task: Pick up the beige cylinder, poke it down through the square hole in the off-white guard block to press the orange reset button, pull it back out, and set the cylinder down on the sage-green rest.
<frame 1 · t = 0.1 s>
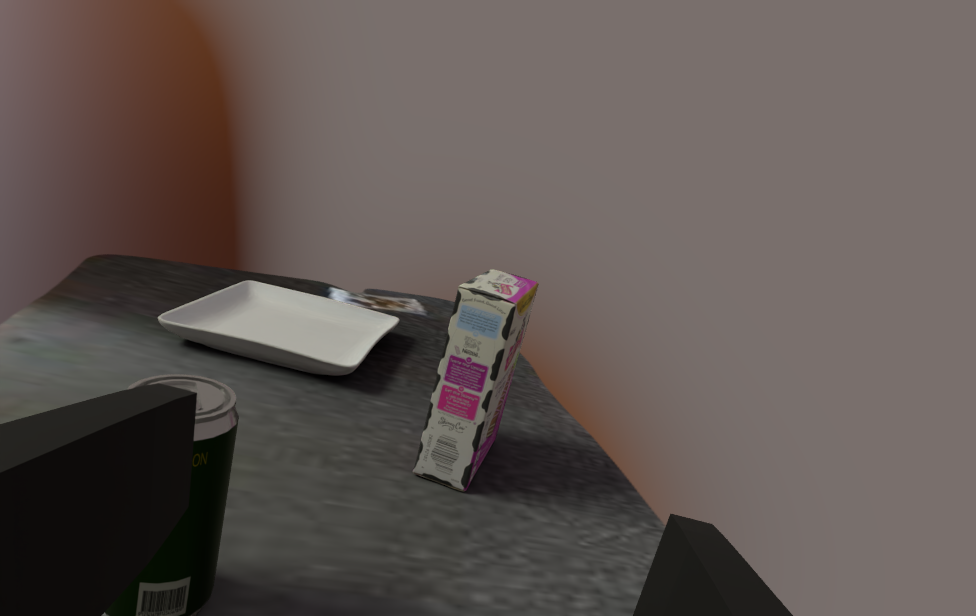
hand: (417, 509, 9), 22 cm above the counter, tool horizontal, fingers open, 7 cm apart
beer can: (156, 602, 34), on the counter
salad plate: (289, 344, 74), on the counter
candy bar box: (458, 458, 56), on the counter
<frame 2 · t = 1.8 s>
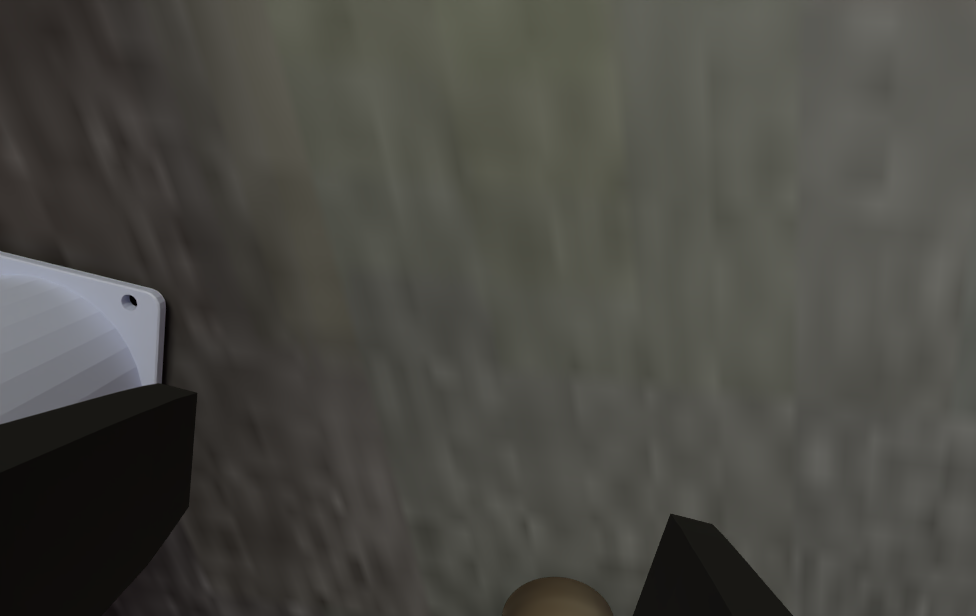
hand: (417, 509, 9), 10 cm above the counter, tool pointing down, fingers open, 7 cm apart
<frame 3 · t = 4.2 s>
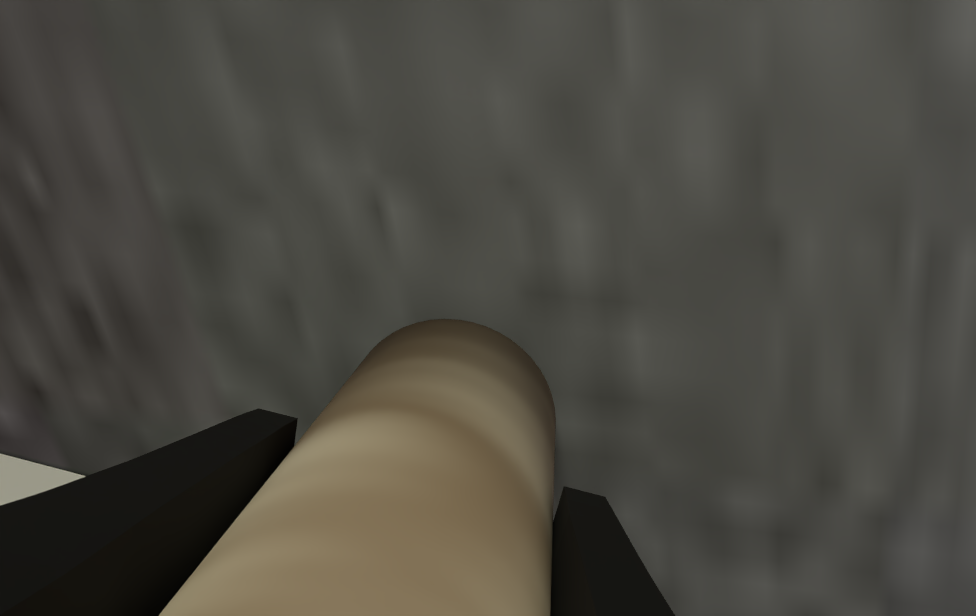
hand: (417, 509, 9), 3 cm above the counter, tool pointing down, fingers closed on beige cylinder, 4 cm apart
beige cylinder: (451, 417, 12), on the counter, touching gripper
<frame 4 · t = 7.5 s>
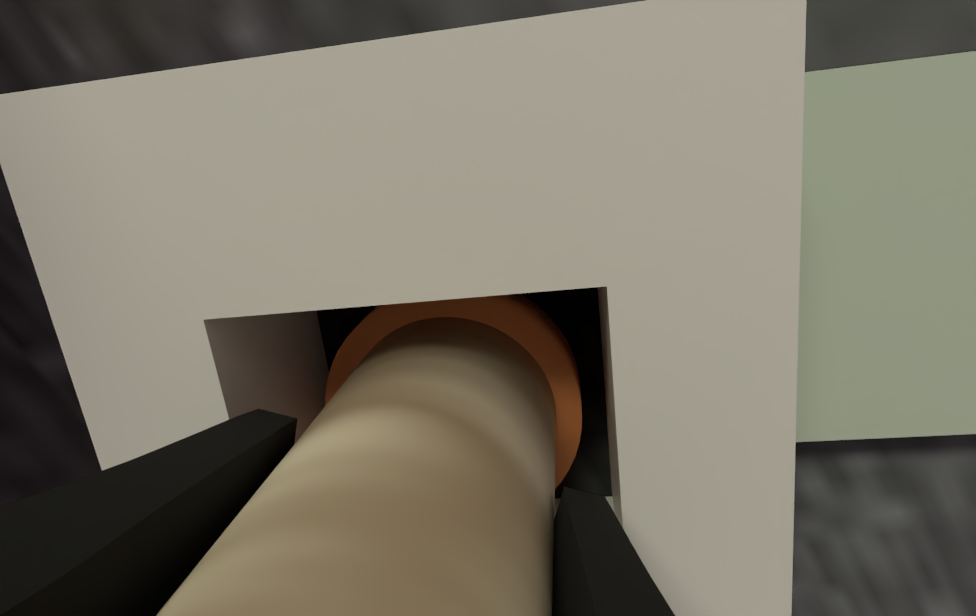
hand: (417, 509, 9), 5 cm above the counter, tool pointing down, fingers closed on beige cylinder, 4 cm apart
guard block: (463, 381, 14), on the counter
peg rest: (919, 254, 12), on the counter
reset button: (455, 403, 13), point 1 cm above the counter, slide at 1.3 cm, touching beige cylinder
beige cylinder: (451, 415, 12), point 2 cm above the counter, touching gripper, reset button
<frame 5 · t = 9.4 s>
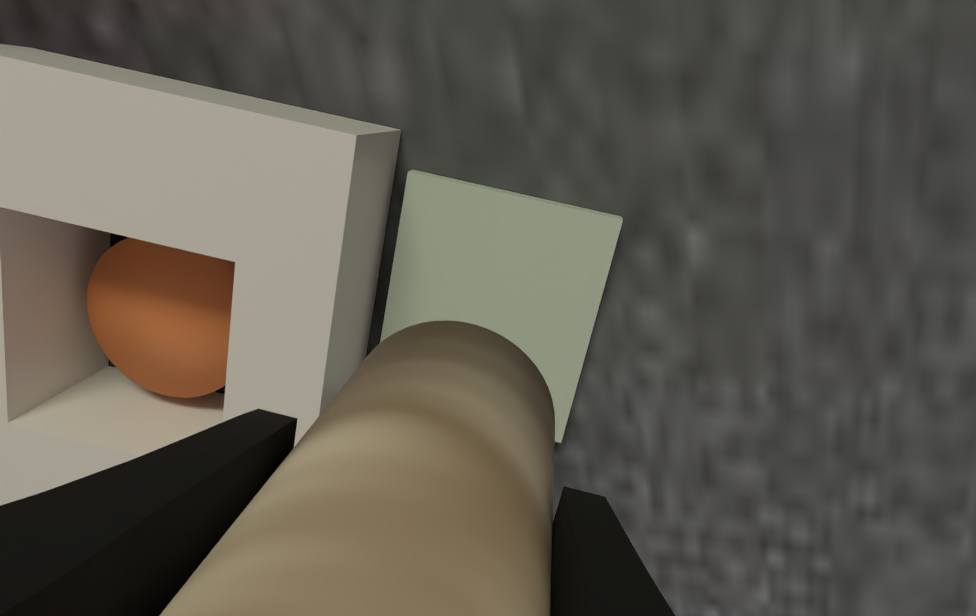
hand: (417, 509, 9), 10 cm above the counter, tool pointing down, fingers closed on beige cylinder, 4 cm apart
guard block: (199, 302, 20), on the counter
peg rest: (490, 308, 19), on the counter
reset button: (180, 312, 19), point 1 cm above the counter, slide at 1.3 cm
beige cylinder: (450, 419, 12), point 7 cm above the counter, touching gripper
when the fingers open (5 cm above the counter, at t = 10.6 s): beige cylinder drops 1 cm, resting on peg rest.
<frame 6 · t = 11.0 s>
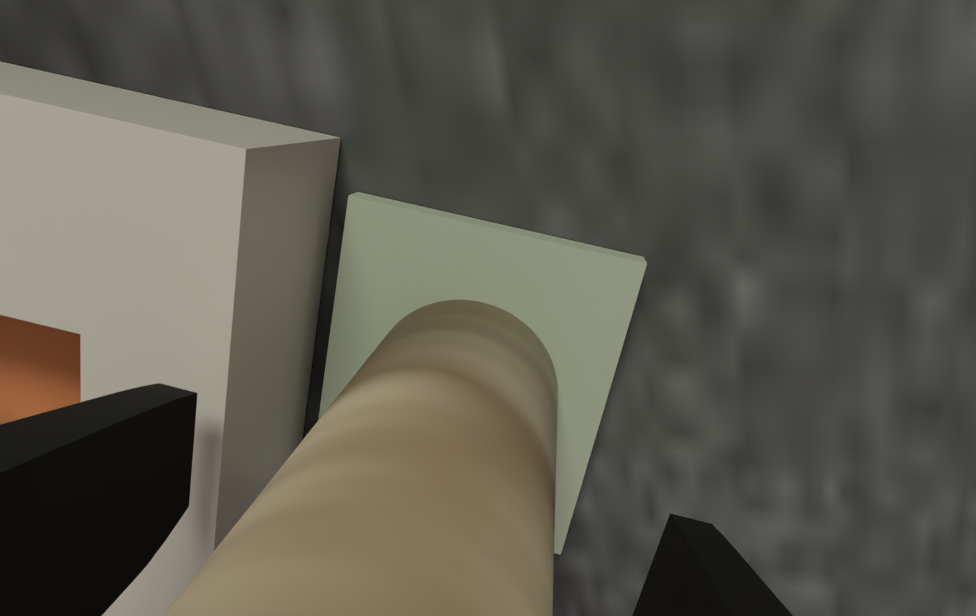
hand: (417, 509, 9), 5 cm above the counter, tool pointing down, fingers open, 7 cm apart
guard block: (84, 363, 15), on the counter
peg rest: (466, 376, 14), on the counter
reset button: (48, 382, 14), point 1 cm above the counter, slide at 1.3 cm
beige cylinder: (463, 389, 13), point 1 cm above the counter, touching peg rest
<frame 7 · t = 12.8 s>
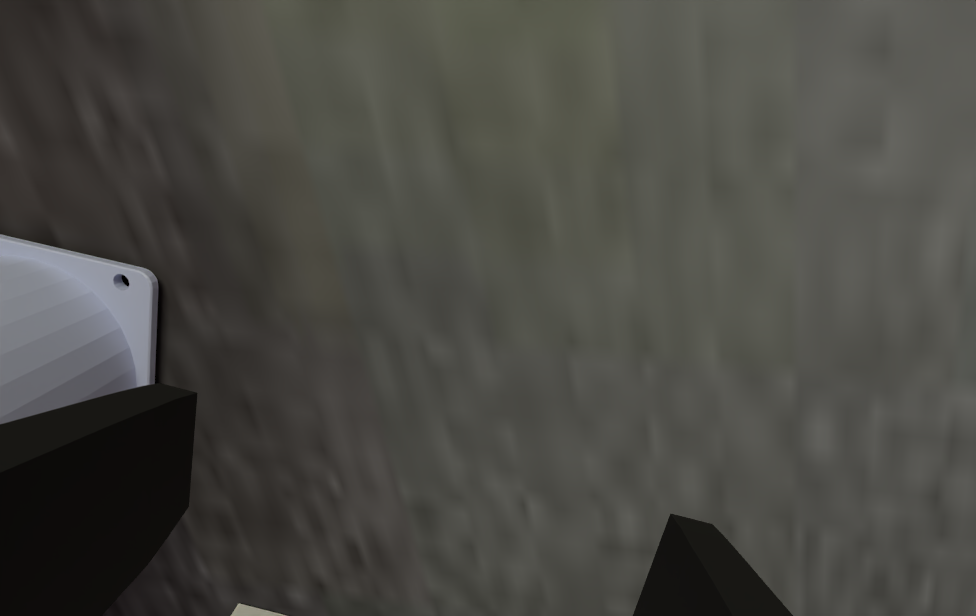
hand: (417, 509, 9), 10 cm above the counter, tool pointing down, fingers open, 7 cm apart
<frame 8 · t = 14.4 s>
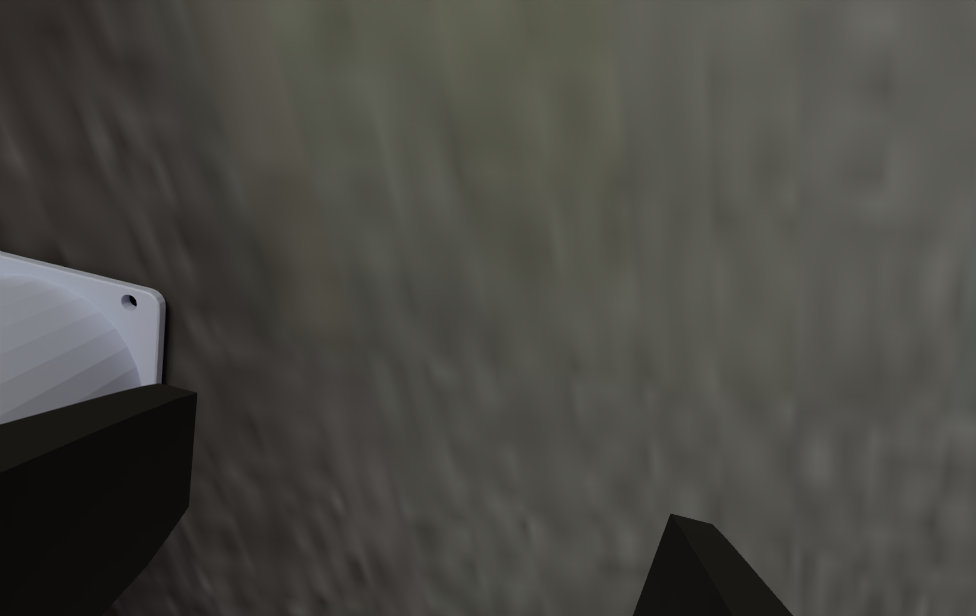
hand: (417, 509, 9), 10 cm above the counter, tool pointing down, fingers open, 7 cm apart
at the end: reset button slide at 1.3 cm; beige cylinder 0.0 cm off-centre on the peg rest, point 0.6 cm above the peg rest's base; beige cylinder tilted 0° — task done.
